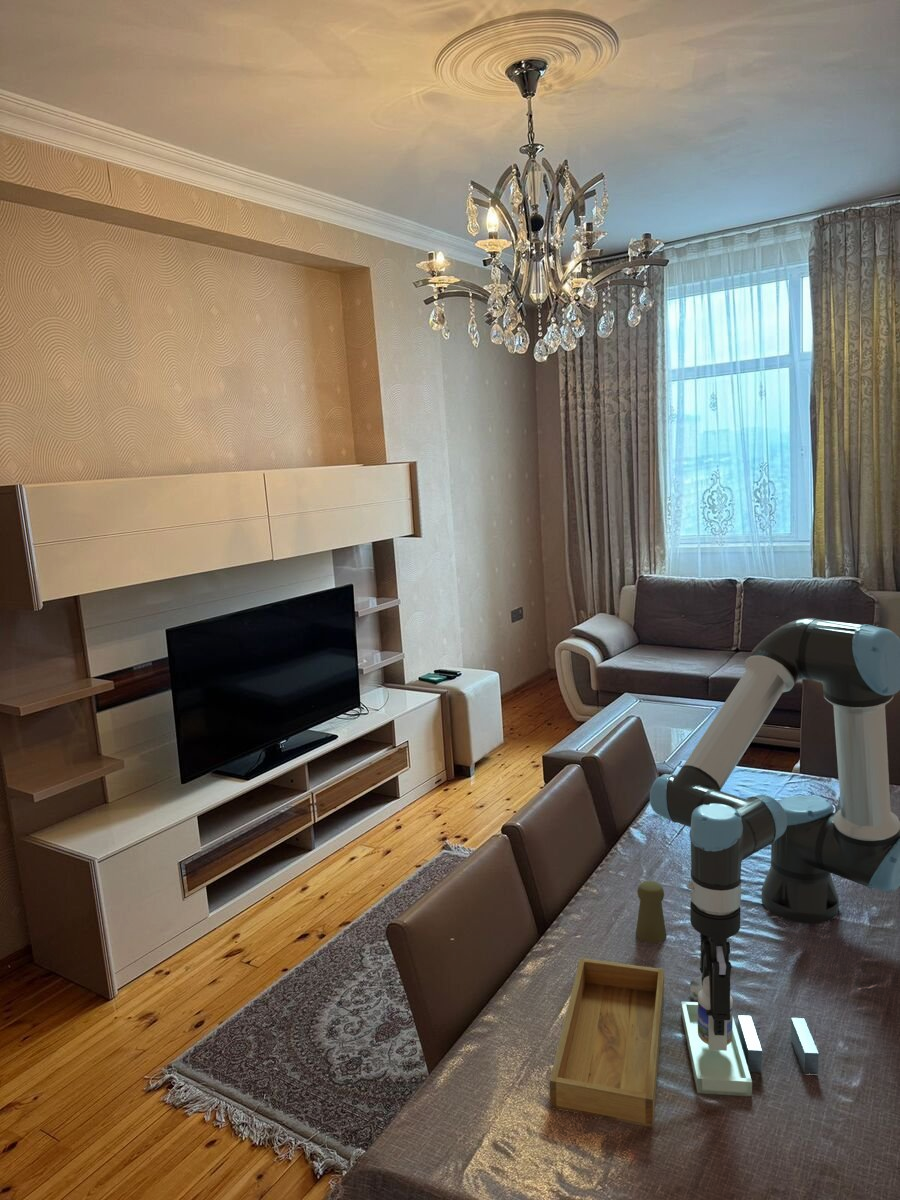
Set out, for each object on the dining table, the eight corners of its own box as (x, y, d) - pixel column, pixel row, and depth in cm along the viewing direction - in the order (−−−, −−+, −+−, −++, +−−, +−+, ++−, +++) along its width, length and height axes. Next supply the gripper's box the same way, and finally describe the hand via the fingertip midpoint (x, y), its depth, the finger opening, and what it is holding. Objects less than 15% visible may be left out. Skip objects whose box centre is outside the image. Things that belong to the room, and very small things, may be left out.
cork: (667, 944, 165) (667, 893, 163) (636, 942, 166) (635, 891, 164) (665, 927, 171) (665, 877, 169) (635, 925, 172) (634, 876, 170)
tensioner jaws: (803, 1040, 137) (804, 1018, 136) (817, 1076, 129) (818, 1053, 128) (737, 1036, 138) (738, 1015, 138) (748, 1072, 131) (748, 1049, 130)
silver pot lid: (721, 987, 151) (721, 972, 151) (728, 1009, 145) (728, 993, 145) (687, 985, 152) (687, 970, 152) (692, 1007, 146) (692, 992, 146)
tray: (653, 1130, 121) (652, 1096, 120) (550, 1111, 126) (549, 1078, 125) (664, 997, 150) (664, 968, 149) (580, 985, 154) (579, 957, 153)
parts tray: (729, 1016, 143) (729, 1003, 143) (751, 1096, 126) (752, 1081, 125) (681, 1014, 145) (681, 1001, 144) (697, 1093, 127) (697, 1078, 127)
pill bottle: (692, 1027, 137) (692, 973, 135) (724, 1023, 138) (724, 970, 136) (705, 1050, 132) (705, 995, 130) (738, 1046, 132) (738, 991, 130)
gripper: (682, 873, 140) (682, 997, 144) (699, 936, 122) (699, 1075, 126) (728, 874, 139) (727, 999, 143) (753, 938, 121) (750, 1078, 125)
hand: (714, 1034), depth 135 cm, fingers closed on pill bottle, 5 cm apart
